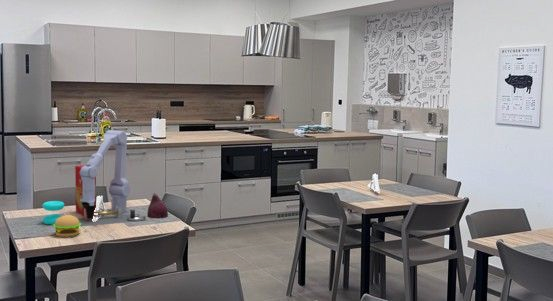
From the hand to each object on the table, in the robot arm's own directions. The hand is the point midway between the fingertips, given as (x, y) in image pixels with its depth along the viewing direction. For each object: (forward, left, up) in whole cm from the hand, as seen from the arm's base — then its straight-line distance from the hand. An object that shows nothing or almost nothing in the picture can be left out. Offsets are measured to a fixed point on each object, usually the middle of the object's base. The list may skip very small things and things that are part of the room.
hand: (88, 217), depth 291 cm
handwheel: (+8, +21, -1) cm, 23 cm away
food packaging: (-14, +1, -2) cm, 14 cm away
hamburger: (+22, -14, -2) cm, 26 cm away
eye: (0, +15, -1) cm, 15 cm away
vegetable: (+5, +33, -2) cm, 34 cm away
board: (+4, +10, -2) cm, 11 cm away
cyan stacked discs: (-4, -16, -2) cm, 16 cm away
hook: (0, +6, -1) cm, 6 cm away
